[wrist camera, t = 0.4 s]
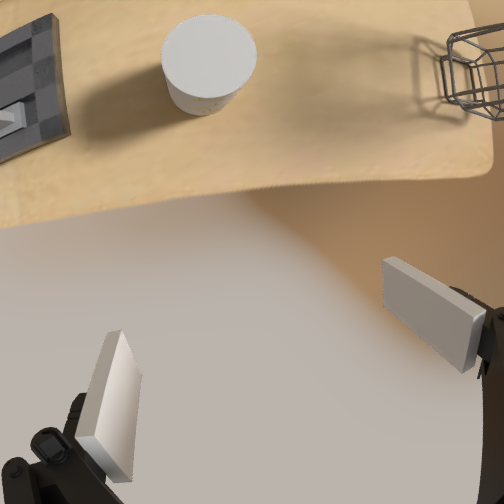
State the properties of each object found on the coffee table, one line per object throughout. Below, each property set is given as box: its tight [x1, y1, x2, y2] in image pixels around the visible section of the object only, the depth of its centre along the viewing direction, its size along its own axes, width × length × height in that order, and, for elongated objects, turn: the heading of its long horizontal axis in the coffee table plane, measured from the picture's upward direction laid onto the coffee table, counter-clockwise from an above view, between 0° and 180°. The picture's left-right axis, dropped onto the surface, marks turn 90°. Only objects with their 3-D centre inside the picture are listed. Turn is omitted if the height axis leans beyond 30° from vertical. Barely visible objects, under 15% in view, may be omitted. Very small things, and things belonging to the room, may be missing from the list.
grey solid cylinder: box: [161, 14, 257, 116], centre depth 29 cm, size 8×8×12 cm
